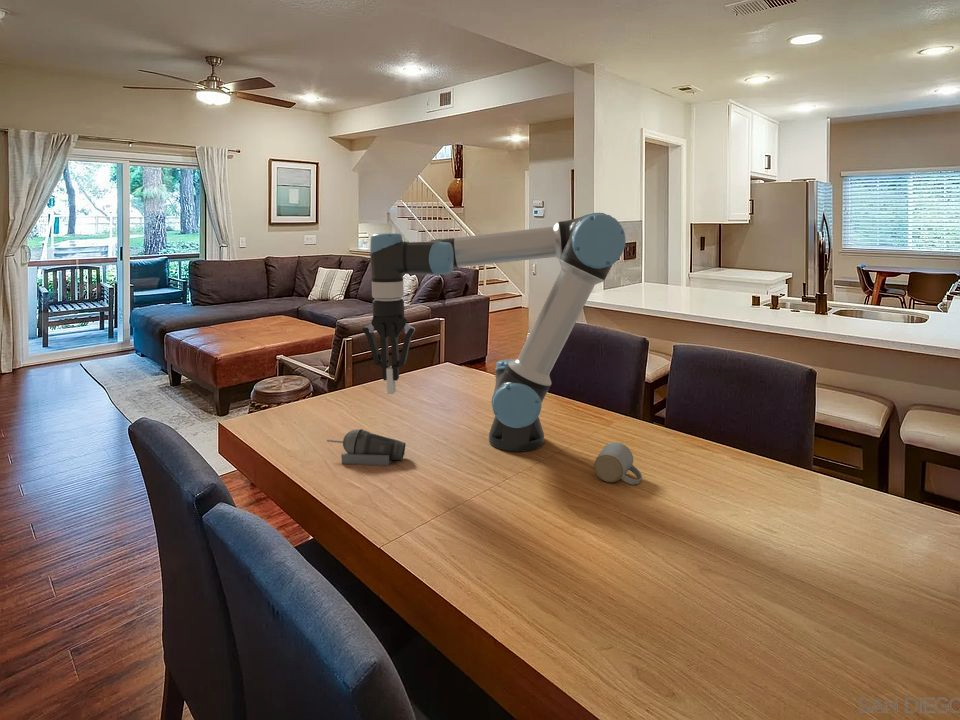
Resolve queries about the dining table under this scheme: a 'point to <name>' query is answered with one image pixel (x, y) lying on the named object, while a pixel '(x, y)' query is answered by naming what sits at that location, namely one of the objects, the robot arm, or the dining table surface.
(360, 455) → the cradle
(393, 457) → the beverage cup
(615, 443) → the ceramic mug
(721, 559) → the dining table surface
